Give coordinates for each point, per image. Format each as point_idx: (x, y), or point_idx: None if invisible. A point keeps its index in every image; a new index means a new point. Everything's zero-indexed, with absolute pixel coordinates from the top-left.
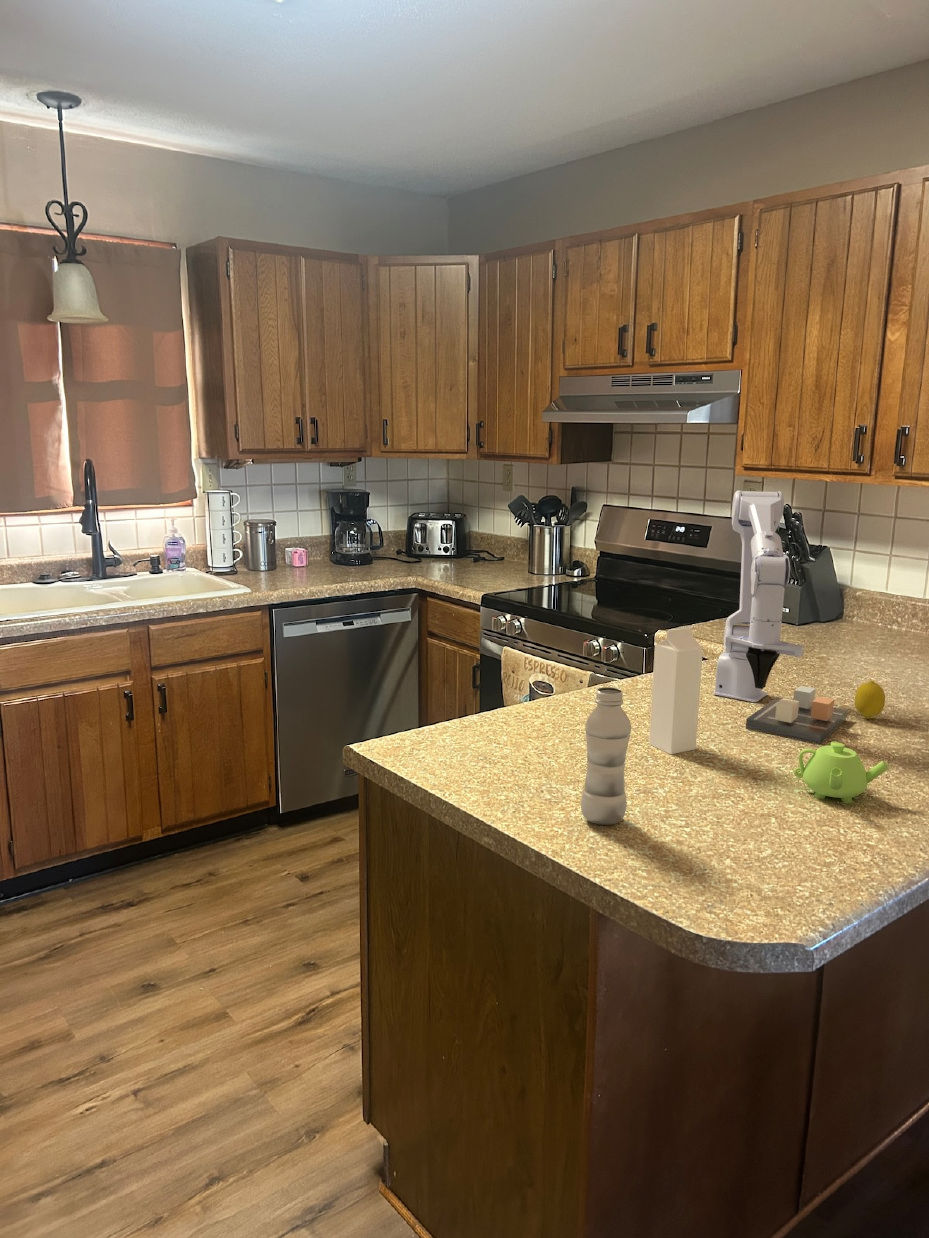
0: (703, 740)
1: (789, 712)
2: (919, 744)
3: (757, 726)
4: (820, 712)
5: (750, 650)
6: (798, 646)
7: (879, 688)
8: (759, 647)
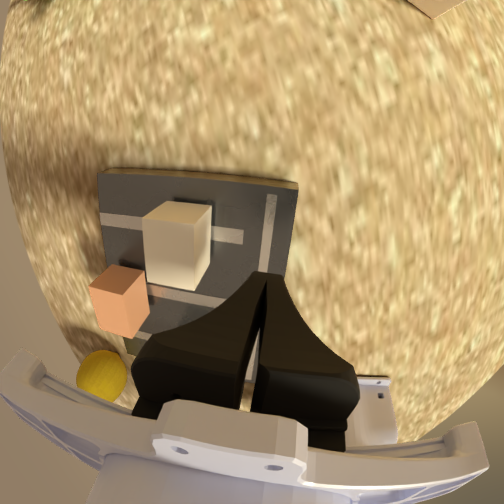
0: (373, 32)
1: (160, 211)
2: (32, 267)
3: (262, 181)
4: (116, 276)
5: (327, 433)
6: (15, 410)
7: (77, 386)
8: (191, 413)
